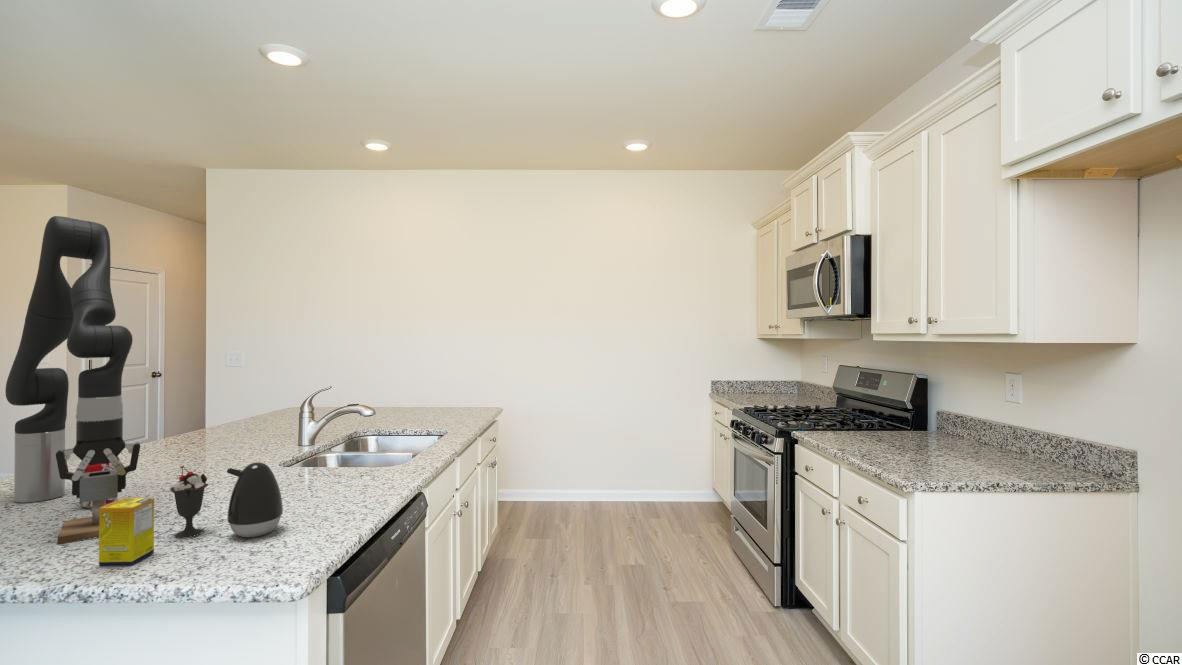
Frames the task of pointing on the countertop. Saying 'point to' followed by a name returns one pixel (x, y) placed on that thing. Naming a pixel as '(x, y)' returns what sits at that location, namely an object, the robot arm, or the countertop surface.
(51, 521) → the countertop surface
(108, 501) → the soda can
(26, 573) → the countertop surface
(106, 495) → the block
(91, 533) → the shaft block
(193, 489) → the sundae
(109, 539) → the supplement box
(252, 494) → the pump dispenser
